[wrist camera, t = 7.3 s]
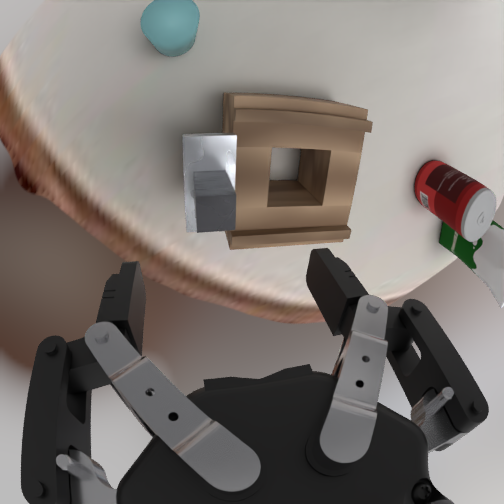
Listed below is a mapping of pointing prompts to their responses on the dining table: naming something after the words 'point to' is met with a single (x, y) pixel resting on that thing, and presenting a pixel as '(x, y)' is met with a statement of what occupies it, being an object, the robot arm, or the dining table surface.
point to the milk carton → (480, 255)
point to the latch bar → (209, 181)
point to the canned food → (456, 199)
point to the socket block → (310, 168)
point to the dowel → (171, 25)
